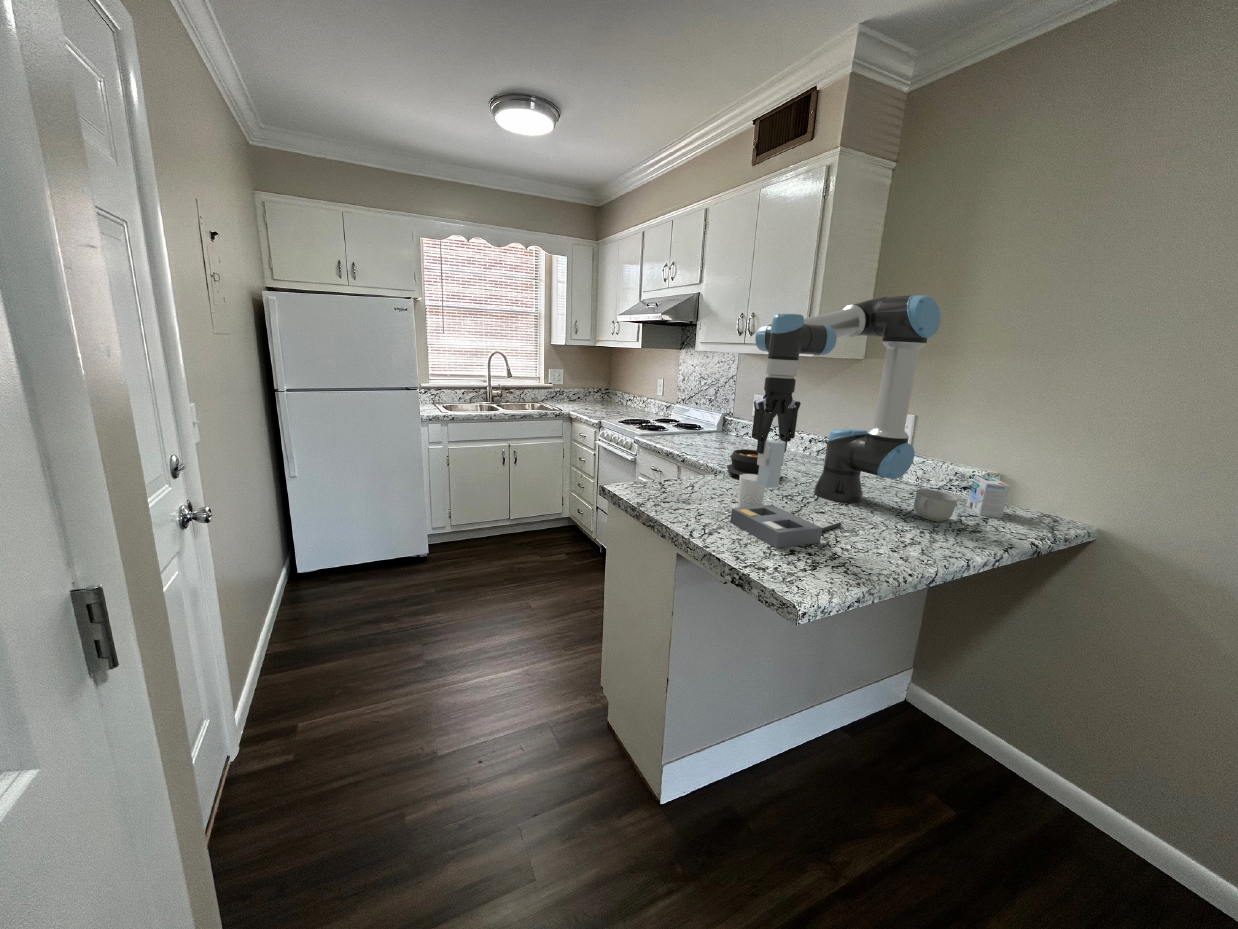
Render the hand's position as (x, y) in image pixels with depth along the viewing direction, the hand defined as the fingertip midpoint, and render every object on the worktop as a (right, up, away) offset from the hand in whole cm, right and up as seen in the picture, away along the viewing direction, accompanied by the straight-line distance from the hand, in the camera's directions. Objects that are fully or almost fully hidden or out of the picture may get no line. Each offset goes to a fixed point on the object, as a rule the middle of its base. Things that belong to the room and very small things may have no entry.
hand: (769, 464), depth 136 cm
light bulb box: (+79, -16, +30) cm, 86 cm away
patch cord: (+16, -18, +3) cm, 24 cm away
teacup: (+54, -17, +20) cm, 60 cm away
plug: (0, -6, +1) cm, 6 cm away
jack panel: (+1, -18, -1) cm, 18 cm away
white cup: (-1, -14, +18) cm, 22 cm away
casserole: (+11, -4, +62) cm, 63 cm away
